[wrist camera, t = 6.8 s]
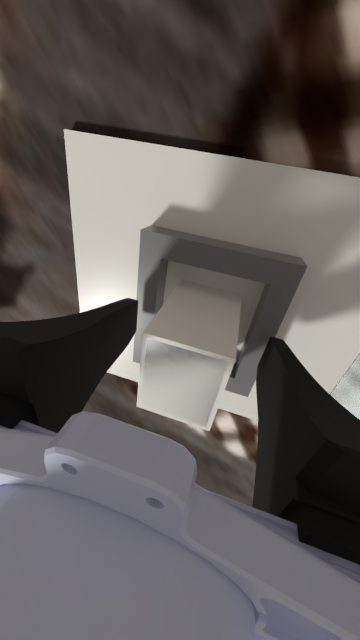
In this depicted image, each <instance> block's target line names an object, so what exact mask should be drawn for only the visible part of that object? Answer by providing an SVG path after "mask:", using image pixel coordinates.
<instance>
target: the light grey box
mask: <svg viewBox="0 0 360 640" xmlns="http://www.w3.org/2000/svg"><path fill="white" fill-rule="evenodd" d="M241 302H242V294H239V293H235V292H231V291H227V290H223V289H219V288H215V287H211V286H207V285H203V284H199V283H195V282H191V281H187V280H183V279H182V280H181V282H180V283H179V284H178V286H177V287H176V288H175V290H174V291H173V292H172V294H171V295H170V296H169V298H168V299H167V300H166V302H165V303H164V304H163V306H162V307H161V308H160V310H159V311H158V312H157V314H156V315H155V316H154V318H153V319H152V320H151V322H150V323H149V324H148V326H147V327H146V328H145V330H144V331H143V333H142V345H141V357H140V370H139V382H138V394H137V407H140V408H143V409H146V410H149V411H151V412H154V413H157V414H160V415H163V416H166V417H169V418H172V419H175V420H178V421H181V422H184V423H187V424H190V425H193V426H196V427H198V428H201V429H204V430H207V431H210V428H211V426H212V423H213V420H214V417H215V415H216V412H217V409H218V407H219V404H220V401H221V398H222V396H223V393H224V390H225V387H226V385H227V382H228V379H229V377H230V374H231V371H232V368H233V366H234V363H235V360H236V352H237V342H238V332H239V322H240V312H241Z"/></svg>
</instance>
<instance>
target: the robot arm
mask: <svg viewBox="0 0 360 640" xmlns="http://www.w3.org/2000/svg"><path fill="white" fill-rule="evenodd" d="M137 314H138V300H135V299H131V298H125V299H122V300H119V301H116V302H113V303H110V304H107V305H104V306H101V307H98V308H95V309H91V310H88V311H85V312H81V313H77V314H73V315H68V316H63V317H58V318H51V319H43V320H35V321H21V322H0V640H360V420H359V419H357V418H356V417H355V416H354V415H353V414H351V413H350V412H349V411H348V410H347V409H345V408H344V407H343V406H342V405H341V404H339V403H338V402H337V401H336V400H335V399H334V398H333V397H332V396H331V395H330V394H329V393H328V392H327V391H326V390H325V389H324V388H323V387H322V386H321V385H320V384H319V383H318V382H317V381H316V380H315V379H314V378H313V377H312V376H311V374H310V373H309V372H308V371H307V370H306V368H305V367H304V366H303V365H302V364H301V362H300V361H299V360H298V358H297V357H296V356H295V354H294V353H293V352H292V350H291V349H290V348H289V346H288V345H287V344H286V343H285V341H284V340H283V339H279V338H275V337H272V336H270V339H269V341H268V343H267V345H266V348H265V350H264V352H263V354H262V357H261V359H260V361H259V364H258V366H257V376H256V393H257V409H258V449H257V463H256V476H255V487H254V498H253V507H251V506H248V505H245V504H243V503H240V502H237V501H235V500H232V499H229V498H227V497H224V496H221V495H219V494H216V493H214V492H211V491H208V490H206V489H204V488H202V487H200V486H199V485H197V484H195V480H196V475H197V464H196V460H195V458H194V457H193V456H192V455H191V453H190V452H189V451H188V450H187V449H186V448H185V447H184V446H183V445H181V444H179V443H177V442H175V441H173V440H171V439H169V438H167V437H164V436H161V435H158V434H155V433H152V432H150V431H147V430H144V429H141V428H138V427H135V426H133V425H130V424H127V423H124V422H121V421H119V420H116V419H113V418H110V417H107V416H104V415H102V414H99V413H93V412H87V411H83V412H82V410H83V408H84V406H85V405H86V403H87V401H88V400H89V398H90V396H91V395H92V393H93V391H94V390H95V388H96V387H97V385H98V384H99V382H100V380H101V379H102V377H103V376H104V375H105V373H106V372H107V371H108V370H109V368H110V367H111V366H112V365H113V363H114V362H115V361H116V360H117V358H118V357H119V356H120V355H121V353H122V352H123V351H124V350H125V348H126V347H127V346H128V345H129V343H130V341H131V340H132V338H133V336H134V334H135V333H136V330H137Z"/></svg>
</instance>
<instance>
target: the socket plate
mask: <svg viewBox="0 0 360 640" xmlns="http://www.w3.org/2000/svg"><path fill="white" fill-rule="evenodd" d="M64 136H65V148H66V159H67V170H68V182H69V193H70V204H71V216H72V227H73V238H74V250H75V261H76V273H77V284H78V295H79V307H80V313H81V312H85V311H88V310H91V309H95V308H98V307H101V306H104V305H107V304H110V303H113V302H116V301H119V300H122V299H125V298H131V299H135V300H138V314H137V330H136V333H135V334H134V336H133V338H132V340H131V341H130V343H129V345H128V346H127V347H126V348H125V350H124V351H123V352H122V353H121V355H120V356H119V357H118V358H117V360H116V361H115V362H114V363H113V365H112V366H111V367H110V368H109V370H108V371H107V372H108V373H111V374H114V375H117V376H121V377H124V378H127V379H130V380H133V381H136V382H139V370H140V357H141V345H142V333H143V331H144V330H145V328H146V327H147V326H148V324H149V323H150V322H151V320H152V319H153V318H154V316H155V315H156V314H157V312H158V311H159V310H160V308H161V307H162V306H163V304H164V303H165V302H166V300H167V299H168V298H169V296H170V295H171V294H172V292H173V291H174V290H175V288H176V287H177V286H178V284H179V283H180V282H181V280H182V279H183V280H187V281H191V282H195V283H199V284H203V285H207V286H211V287H215V288H219V289H223V290H227V291H231V292H235V293H239V294H242V302H241V312H240V322H239V332H238V342H237V352H236V360H235V363H234V366H233V368H232V371H231V374H230V377H229V379H228V382H227V385H226V387H225V390H224V393H223V396H222V398H221V401H220V404H219V407H218V408H219V409H222V410H226V411H229V412H232V413H235V414H238V415H241V416H244V417H247V418H250V419H253V420H256V421H258V409H257V393H256V376H257V366H258V364H259V361H260V359H261V357H262V354H263V352H264V350H265V348H266V345H267V343H268V341H269V339H270V336H272V337H275V338H279V339H283V340H284V341H285V343H286V344H287V345H288V346H289V348H290V349H291V350H292V352H293V353H294V354H295V356H296V357H297V358H298V360H299V361H300V362H301V364H302V365H303V366H304V367H305V368H306V370H307V371H308V372H309V373H310V374H311V376H312V377H313V378H314V379H315V380H316V381H317V382H318V383H319V384H320V385H321V386H322V387H323V388H324V389H325V390H326V391H327V392H328V393H329V394H330V393H331V392H332V390H333V389H334V388H335V386H336V385H337V383H338V382H339V381H340V379H341V378H342V377H343V375H344V374H345V372H346V371H347V370H348V368H349V367H350V366H351V364H352V363H353V361H354V360H355V359H356V357H357V356H358V354H359V353H360V177H354V176H348V175H342V174H336V173H329V172H323V171H317V170H311V169H305V168H299V167H293V166H287V165H280V164H274V163H268V162H262V161H256V160H250V159H244V158H238V157H232V156H225V155H219V154H213V153H207V152H201V151H195V150H189V149H183V148H176V147H170V146H164V145H158V144H152V143H146V142H140V141H134V140H128V139H121V138H115V137H109V136H103V135H97V134H91V133H85V132H79V131H73V130H66V129H64Z"/></svg>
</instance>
